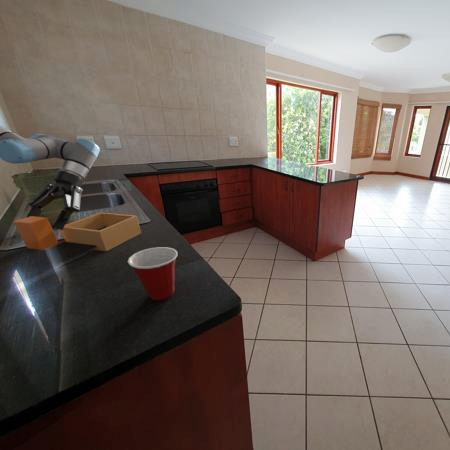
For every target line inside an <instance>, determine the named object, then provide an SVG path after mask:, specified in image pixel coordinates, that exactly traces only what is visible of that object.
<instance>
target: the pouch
mask: <svg viewBox="0 0 450 450" xmlns="http://www.w3.org/2000/svg"><path fill="white" fill-rule="evenodd" d="M59 169H60V168H55V169H53V170H46V171H43V172H41V171H40V170H38V169H37V170H36V171H35V172H21V173H16V174H13V175H11V178H12V180H13V184H15V186H16V188H17V189H19V190H20V191H21V192H22V194H23V195H24V196H25V198H26V199H27V204H28V203H29V202H30V201H31V200H33V199H34V198H35V197H36V196H37V195H38V194H39V193H40V192H41V191H42V190H44V189H45V187H46V186H47V185H48V184H50V185H52V186H54V185H55V184H56V181H55V180H54V178H55V176H56V174H57V173H58V172H59V171H60V170H59ZM29 207H30V209H31V208H32V207H31V206H30V205H29ZM62 210H64V202H63V198H58V199H55V200H53V201H52V202H50V203H49V204H47V205H46V206H45V207H43V208H42V212H41V213H40V215H39V217H44V218H47V219H48V221H49V223H50V225H51V228H52V230H53V231H56V230H58V229H57V228H54V227H53V225H54V223H55V221H56V220H57V218H58V216H59V214H60V213H61V211H62ZM65 211H66V210H65ZM75 221H77V216H76V211H75V212H74V213H72V214H71V216H70V218H69V220H68V221H67V223H66V224H65V225H67V224H69V223H72V222H75Z"/></svg>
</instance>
